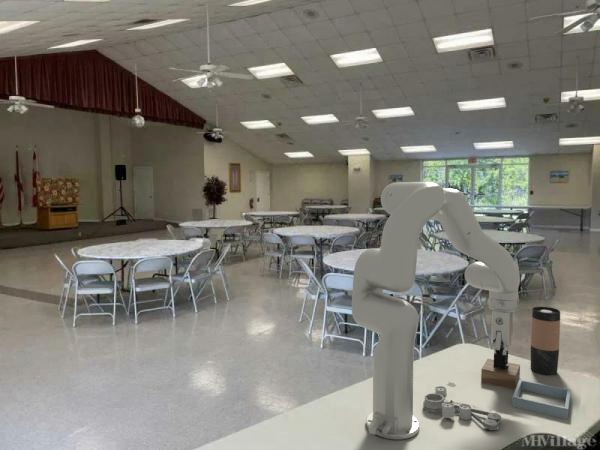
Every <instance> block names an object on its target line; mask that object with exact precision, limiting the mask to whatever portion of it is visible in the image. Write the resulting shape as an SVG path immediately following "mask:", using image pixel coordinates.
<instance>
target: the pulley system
mask: <svg viewBox="0 0 600 450" xmlns="http://www.w3.org/2000/svg"><path fill="white" fill-rule="evenodd" d="M446 386H448V387H450V388H454V387H456V386H457V385H456V384H455V383H454V382H451V381H449V382H448V383H447V384H446ZM434 390H435V392H431V393H428V394H426V395H424V396H423V397H424V400H423V403H422V407H423V408H422V409H423V410H424V411H426V412H427V413H428V414H432V415H442V417H444V418H446V419H449V418H450V419H451V418H454V417H455V415H458V416H459V419H461V420H464V421H467V420H471V419H472V417H473V418H474V419H475V421H477V422H478V423H480V424H481V425H482V426H483V427H484V428H485V429H487V430H490V431H493V430H498V429H499V426H500V425H501V423H502V415H500V414H499V413H496V412H490V411H485V410H479V409H475V408H472V406H471V405H470V404H467V403H460V404H459V405H456V404H454V403H453V402H452V401H453V400H452V399H450V401H445V400H446V398H445V397H444V396H447V387H445V386H443V385H441V386H440V385H439V386H435V389H434ZM455 409H456V410H455ZM476 414H479V415H483V416H487V418H485V419H484V421H483V420H482V419H481V418H479V417H478V416H477V415H476Z"/></svg>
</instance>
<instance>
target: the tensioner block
mask: <svg viewBox="0 0 600 450" xmlns="http://www.w3.org/2000/svg"><path fill="white" fill-rule="evenodd" d="M480 371H481V374H480V382H481V383H483V384H487V385H492V386H495V387H501V388H506V389H511V390H514V391H515V389H516V387H517V384H518V382H519V379H520V376H521V365H520V364H518V363H512V362H508V364H507V365H506V370H502V369H497V368H495V367H494V359H492V358H487V359H486V360H485V362H484V364H483V365H482V367H481V370H480Z"/></svg>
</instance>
